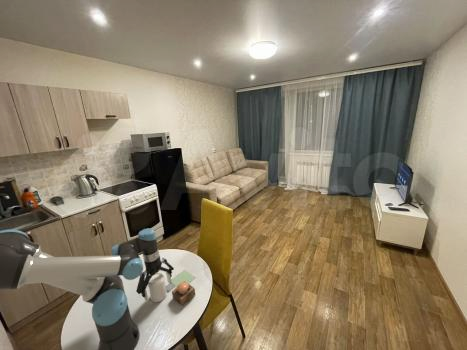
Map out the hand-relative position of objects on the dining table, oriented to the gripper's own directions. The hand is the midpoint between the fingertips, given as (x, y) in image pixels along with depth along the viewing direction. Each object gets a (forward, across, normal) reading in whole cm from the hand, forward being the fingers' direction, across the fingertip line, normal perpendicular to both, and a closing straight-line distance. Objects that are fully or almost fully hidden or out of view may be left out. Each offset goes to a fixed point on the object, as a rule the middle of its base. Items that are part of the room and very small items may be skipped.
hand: (158, 291), depth 104 cm
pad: (+3, +15, -1) cm, 15 cm away
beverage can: (+4, 0, 0) cm, 4 cm away
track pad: (+3, +7, +1) cm, 7 cm away
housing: (+3, +8, -11) cm, 14 cm away
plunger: (+3, +8, -11) cm, 14 cm away
